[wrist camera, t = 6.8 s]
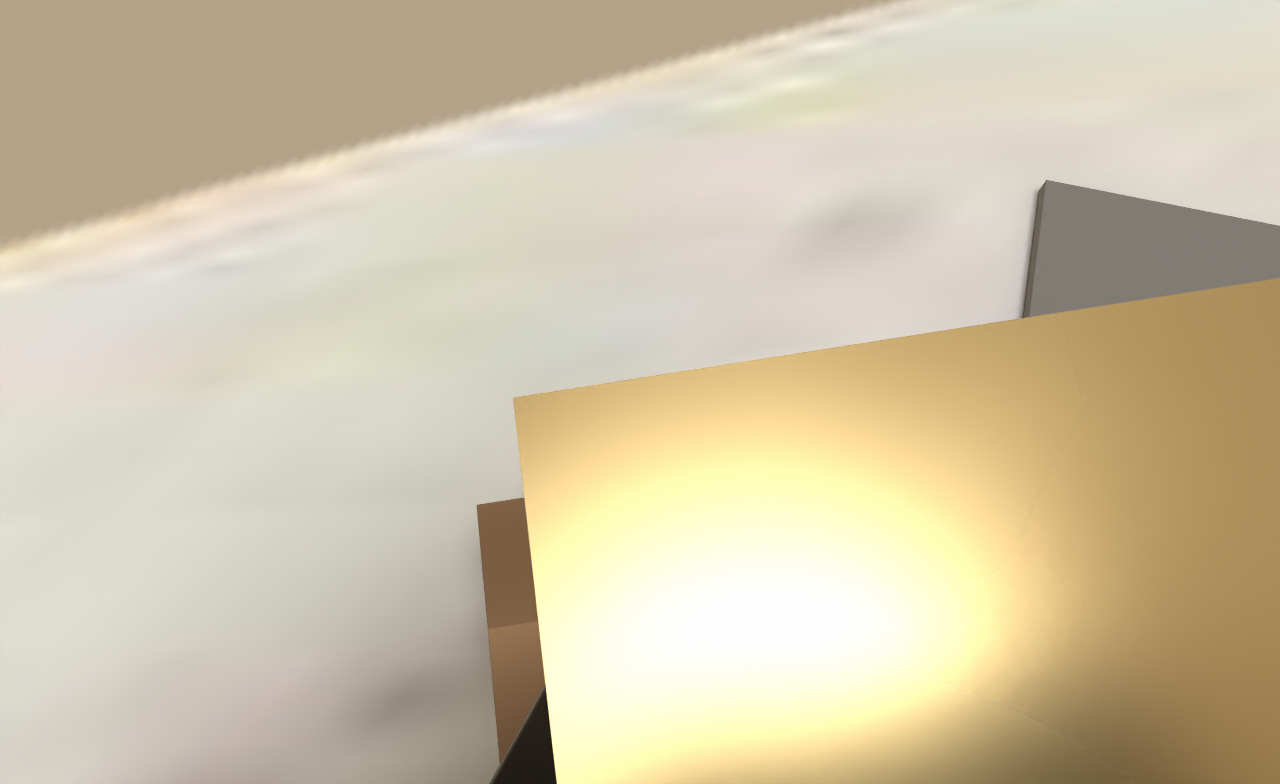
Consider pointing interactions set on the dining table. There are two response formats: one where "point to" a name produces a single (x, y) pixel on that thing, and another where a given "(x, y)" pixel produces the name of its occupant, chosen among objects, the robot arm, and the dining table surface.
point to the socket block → (510, 615)
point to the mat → (1137, 250)
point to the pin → (923, 557)
